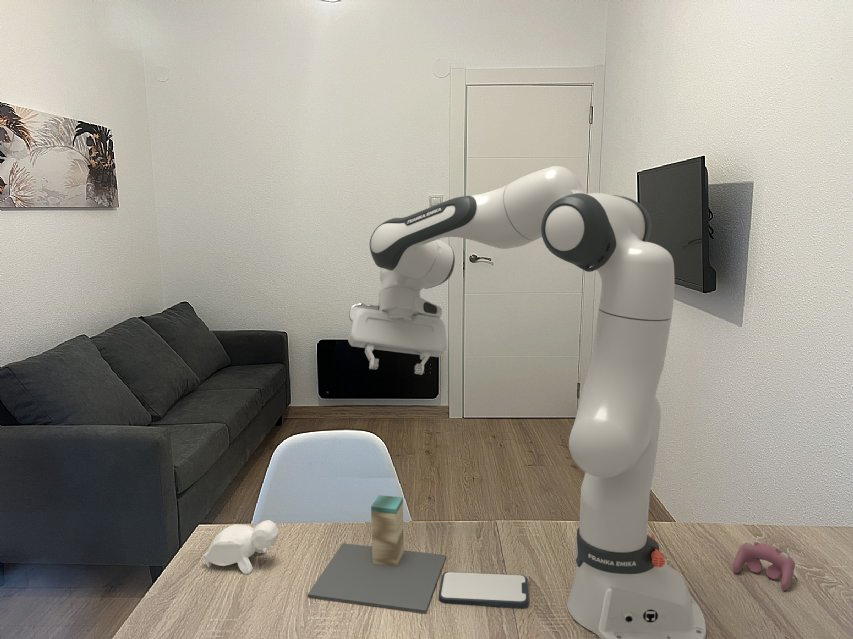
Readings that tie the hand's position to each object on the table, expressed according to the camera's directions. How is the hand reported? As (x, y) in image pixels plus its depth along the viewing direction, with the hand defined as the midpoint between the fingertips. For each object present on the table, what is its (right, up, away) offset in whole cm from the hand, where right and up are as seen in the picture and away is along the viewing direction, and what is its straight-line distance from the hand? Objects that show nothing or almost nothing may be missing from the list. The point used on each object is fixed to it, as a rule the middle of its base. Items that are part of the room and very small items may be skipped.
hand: (396, 370), depth 127 cm
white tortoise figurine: (-30, -38, -1) cm, 49 cm away
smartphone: (+17, -40, -11) cm, 45 cm away
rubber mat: (-3, -39, -7) cm, 39 cm away
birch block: (-2, -37, -1) cm, 37 cm away
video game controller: (+70, -39, -8) cm, 80 cm away
